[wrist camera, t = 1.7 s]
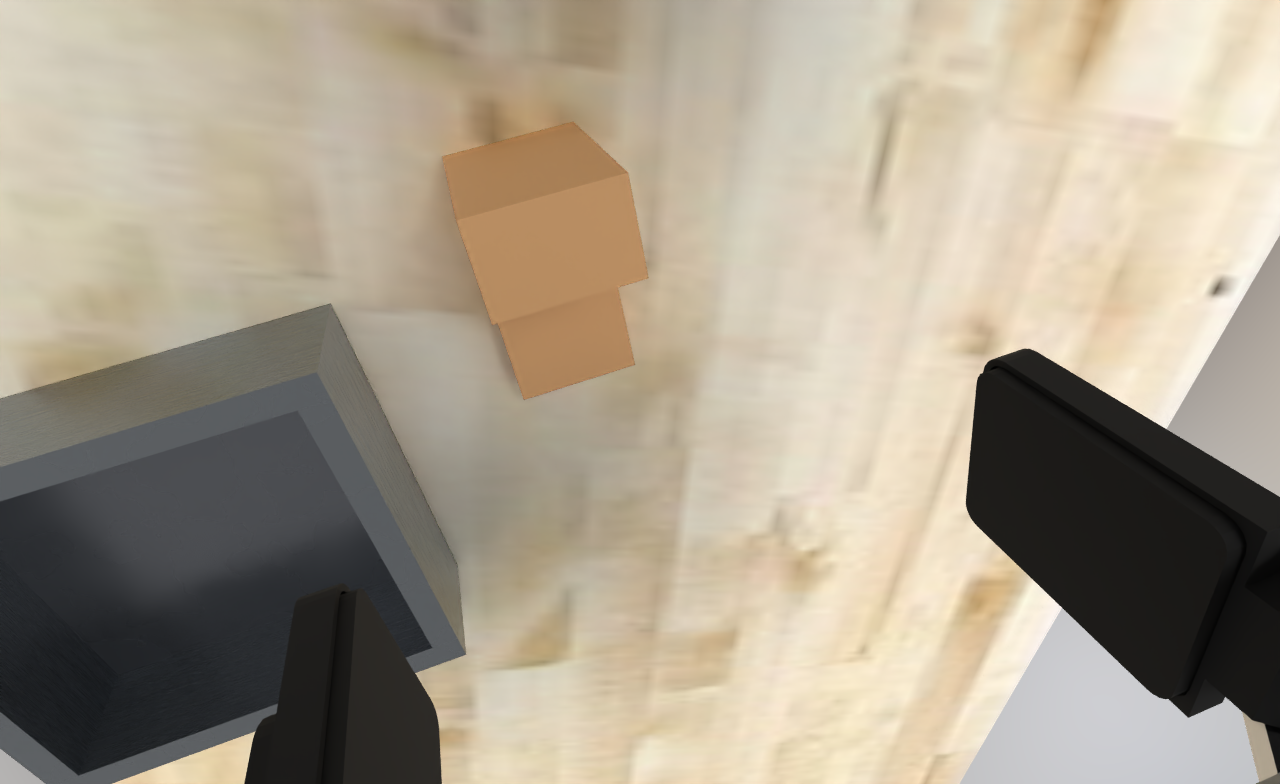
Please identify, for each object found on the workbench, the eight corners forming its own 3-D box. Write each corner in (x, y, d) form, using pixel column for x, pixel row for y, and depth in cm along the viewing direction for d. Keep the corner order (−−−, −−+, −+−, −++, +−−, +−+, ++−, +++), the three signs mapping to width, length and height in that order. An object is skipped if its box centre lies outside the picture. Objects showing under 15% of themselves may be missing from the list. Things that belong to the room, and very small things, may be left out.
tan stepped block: (442, 156, 23) (456, 220, 17) (572, 121, 24) (627, 172, 18) (518, 380, 28) (548, 488, 22) (625, 347, 29) (680, 443, 23)
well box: (-142, 439, 22) (-263, 545, 18) (330, 303, 24) (316, 372, 20) (112, 685, 30) (66, 799, 26) (457, 565, 32) (466, 654, 28)
